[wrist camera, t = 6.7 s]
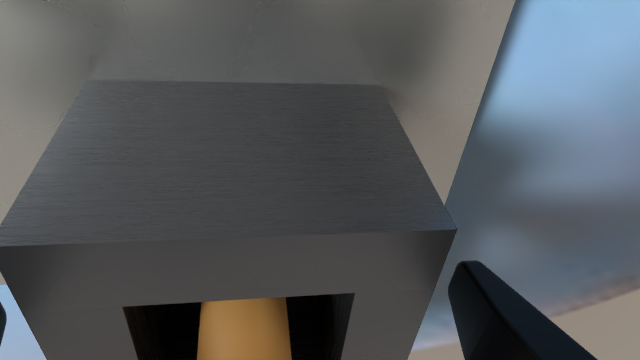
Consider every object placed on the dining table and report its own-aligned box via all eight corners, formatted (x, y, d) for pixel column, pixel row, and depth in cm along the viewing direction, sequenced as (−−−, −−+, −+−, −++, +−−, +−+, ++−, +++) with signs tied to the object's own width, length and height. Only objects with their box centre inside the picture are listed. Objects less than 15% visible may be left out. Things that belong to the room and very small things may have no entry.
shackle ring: (379, 85, 10) (457, 229, 6) (346, 267, 13) (383, 421, 10) (86, 79, 9) (-13, 246, 5) (136, 278, 12) (96, 453, 9)
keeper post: (276, 167, 11) (296, 359, 7) (274, 215, 12) (291, 408, 8) (208, 167, 11) (189, 367, 7) (212, 217, 12) (198, 417, 8)
